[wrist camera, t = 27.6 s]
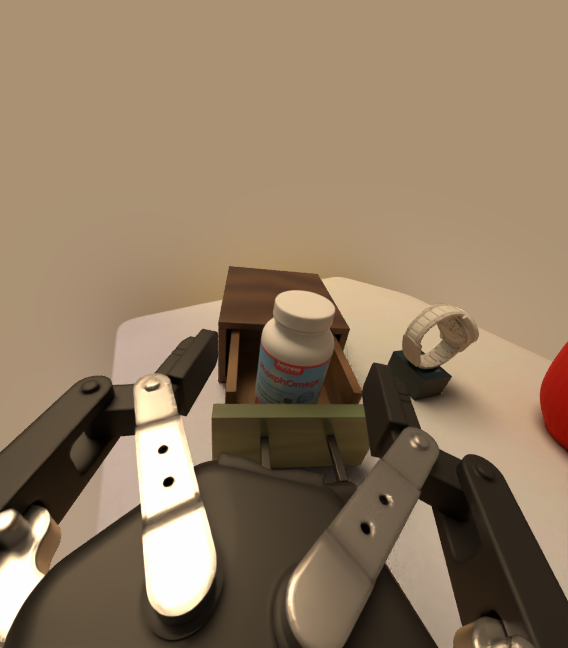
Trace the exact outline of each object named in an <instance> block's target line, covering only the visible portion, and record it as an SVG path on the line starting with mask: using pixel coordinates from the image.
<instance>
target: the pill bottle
mask: <svg viewBox="0 0 568 648" xmlns="http://www.w3.org/2000/svg"><path fill="white" fill-rule="evenodd" d="M273 315H274V318H272V319H271V320H270V321H268V323H267V324H266V325H265V327H264V329H263V331H262V336H261V345H260V353H259V362H258V370H257V379H256V387H255V398H254V402H255V404H317V402H318V399H319V395H320V392H321V389H322V386H323V383H324V380H325V376H326V373H327V370H328V367H329V363H330V360H331V357H332V354H333V350H334V337H333V335H332V333H331V331H330V330H329V329H330V327H331V325H332V323H333V318H334V315H335V307H334V305H333V303H332V302H331V301H329V300H328V299H327V298H325V297H323V296H321V295H318V294H315V293H312V292H308V291H300V290H292V291H286V292H283V293H280V294H279V295H278V296H277V297H276V299H275V304H274V309H273Z"/></svg>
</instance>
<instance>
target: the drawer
mask: <svg viewBox="0 0 568 648" xmlns="http://www.w3.org/2000/svg"><path fill="white" fill-rule="evenodd" d="M262 331H263V330H243V329H232V334H231V343H230V353H229V362H228V372H227V381H226V391H225V404H214V405H213V412H212V461H213V460H219V458H220V455H221V453H222V452H225V453H229V454H234V455H238V456H243V457H247V458H249V459H251V460H253V461H255V462H256V463H258V464H260V465H262V466H264V467H266V468H268V469H270V470H271V468H288V467H315V466H333V468H334V472H335V476H336V479H337V482H332V483H325V484H326V485H327V486H329V487H331V488H332V489H333V490H335V491H336V492H337V493H338V494H340V495H341V497H342V498H343V499H344V500H345V501H346V502H348V500H349V499H350V498H351V497H352V495H353V494H354V493H355V491H356V490H357V488H356V486H355V484H354V483H353V482H348V477H347V474H346V471H345V467H344V465H361V463H362V461H363V459H364V457H365V455H366V453H367V451H368V450H369V448H370V445H369V438H368V431H367V425H366V418H365V411H364V405H363V404H359V401H360V399H361V397H362V390H361V388H360V386H359V384H358V382H357V380H356V378H355V375H354V373H353V371H352V369H351V367H350V365H349V363H348V361H347V359H346V357H345V355H344V353H343V351H342V349H341V346H340V344H339V342H338V340H337V338H336V336H335V334H332V335H333V337H334V350H333V354H332V357H331V360H330V363H329V367H328V370H327V373H326V376H325V380H324V383H323V386H322V389H321V392H320V395H319V399H318V402H317V404H255V402H254V398H255V387H256V379H257V370H258V362H259V353H260V345H261V336H262Z"/></svg>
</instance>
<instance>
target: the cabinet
mask: <svg viewBox="0 0 568 648" xmlns="http://www.w3.org/2000/svg"><path fill="white" fill-rule="evenodd" d="M292 290H300V291H308V292H312V293H315V294H318V295H321V296H323V297H325V298H327V299H328V300H329V301H331V302H332V303H333V305H334V307H335V315H334V318H333V323H332V325H331V327H330V329H329V330H330V331H331V333H332V334H335V336H336V338H337V340H338V342H339V344H340V346H341V349H342V351H343V350H344V346H345V343H346V340H347V337H348V333H349V330H350V328H349V326H348V325H347V323H346V321H345V320H344V318H343V316H342V315H341V313H340V311H339V309H338V308H337V306H336V304H335V303H334V301H333V299H332V298H331V296H330V294H329V292H328V291H327V289H326V287H325V286H324V284H323V282H322V281H321V279H320V277H319V275H318V274H310V273H299V272H288V271H276V270H266V269H254V268H243V267H231V266H229V270H228V275H227V280H226V286H225V291H224V296H223V301H222V306H221V311H220V317H219V322H218V327H219V329H218V381H219V382H226V381H227V372H228V362H229V353H230V343H231V334H232V329H243V330H263V329H264V327H265V325H266V324H267V323H268V321H270V320H271V319H272V318H274V315H273V309H274V304H275V299H276V297H277V296H278V295H279V294H280V293H283V292H286V291H292Z"/></svg>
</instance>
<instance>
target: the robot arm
mask: <svg viewBox="0 0 568 648" xmlns="http://www.w3.org/2000/svg"><path fill="white" fill-rule="evenodd" d="M217 359H218V333H217V332H216V331H211V330H206V329H202V330H201V331H200V332H199V334H198V335H197V336H196V337H191V336H190V337H189V338H187V339H185V340H183V341H182V342H181V343H180V344H179V345H178V346H177V347H176V349H175V350H174V351H173V352H172V354H171V355H170V356H169V357H168V358H167V359H166V360H165V361H164V363H163V364H162V365H161V366H160V367H159V368H158V370H157V371H156V372H155V373H154V374H149V375H146V376H144V377H142V378H140V379H139V380H138V381H137V382H136V383H135V384H127V385H112V382H111V380H110V379H109V378H108V377H105V376H91V377H87V378H84V379H82V380H80V381H78V382H77V383H75V384H74V385H73V386H72V387H71V388H70V389H69V390H68V391H66V392H65V393H64V394H63V395H62V396H61V397H60V398H59V399H58V400H57V401H56V402H55V403H53V404H52V405H51V406H50V407H49V408H48V409H47V410H46V411H45V412H44V413H42V415H40V416H39V417H38V418H37V419H36V420H35V421H34V422H33V423H32V424H31V425H29V426H28V427H27V428H26V429H25V430H24V431H23V432H22V433H21V434H20V435H19V436H17V437H16V438H15V439H14V440H13V441H12V442H11V443H10V444H9V445H8V446H7V447H6V448H5V449H3V450H2V451H1V452H0V647H2V648H438V646H437V645H436V643H435V642H434V640H433V638H432V637H431V635H430V634H429V632H428V630H427V629H426V627H425V626H424V624H423V622H422V621H421V619H420V618H419V616H418V614H417V613H416V611H415V610H414V608H413V606H412V605H411V603H410V601H409V600H408V598H407V597H406V595H405V593H404V592H403V590H402V589H401V587H400V585H399V584H398V582H397V581H396V579H395V577H394V576H393V574H392V573H391V571H390V569H389V568H388V566H387V565H386V563H385V562H386V560H387V558H388V556H389V554H390V552H391V550H392V548H393V546H394V544H395V542H396V541H397V539H398V537H399V535H400V533H401V531H402V529H403V527H404V525H405V523H406V521H407V519H408V518H409V516H410V514H411V512H412V510H413V508H414V506H415V504H416V502H417V500H418V499H420V500H421V501H423V502H425V503H427V504H428V505H430V506H432V510H433V514H434V517H435V521H436V525H437V529H438V533H439V537H440V541H441V545H442V549H443V553H444V557H445V561H446V565H447V568H448V572H449V576H450V580H451V584H452V588H453V592H454V596H455V600H456V604H457V608H458V612H459V616H460V619H461V623H462V627H461V628H459V629H458V630H457V632H456V633H455V636H454V641H453V648H568V600H567V598H566V596H565V594H564V593H563V591H562V589H561V587H560V585H559V583H558V581H557V579H556V577H555V575H554V573H553V571H552V569H551V567H550V565H549V564H548V562H547V560H546V558H545V556H544V554H543V552H542V550H541V548H540V546H539V544H538V542H537V540H536V538H535V536H534V535H533V533H532V531H531V529H530V527H529V525H528V523H527V521H526V519H525V517H524V515H523V513H522V511H521V509H520V507H519V505H518V504H517V502H516V500H515V498H514V496H513V494H512V492H511V490H510V488H509V486H508V484H507V482H506V480H505V478H504V477H503V475H502V474H501V472H500V471H499V470H498V469H497V468H496V467H495V466H494V465H493V464H492V463H491V462H489V461H488V460H486V459H484V458H482V457H480V456H478V455H473V454H468V455H466V456H465V457H464V458H463V459H462V460H461V459H458V458H456V457H454V456H452V455H450V454H448V453H446V452H444V451H442V450H440V449H439V448H438V445H437V443H436V442H435V440H434V439H433V438H432V437H431V436H430V435H429V434H428V433H426V432H425V431H423V430H421V427H420V425H419V422H418V419H417V416H416V413H415V411H414V408H413V405H412V404H411V400H410V397H409V394H408V391H407V388H406V386H405V385H404V384H403V382H402V381H401V380H400V379H399V378H397V377H393V374H392V371H391V368H390V366H389V365H384V364H378V363H373V364H372V366H371V368H370V371H369V373H368V376H367V378H366V381H365V383H364V386H363V391H362V398H363V405H364V411H365V418H366V425H367V431H368V438H369V445H370V451H371V456H373V457H378V458H380V460H379V461H378V462H377V464H376V465H375V466H374V467H373V469H372V470H371V471H370V473H369V474H368V475H367V477H366V478H365V479H364V481H363V482H362V483H361V485H360V486H359V487H358V489H357V490H356V491H355V493H354V494H353V495H352V497H351V498H350V499H349V500H348V502H346V501H345V500H344V499H343V498H342V497H341V495H340V494H338V493H337V492H336V491H335V490H333V489H332V488H331V487H329V486H327V485H326V484H325V475H323V474H318V473H314V472H309V471H305V470H300V469H292V470H270V469H268V468H266V467H264V466H262V465H260V464H258V463H256V462H255V461H253V460H251V459H249V458H247V457H243V456H238V455H234V454H229V453H225V452H222V453H221V455H220V458H219V460H213V461H208V462H204V463H201V464H199V465H196V466H194V467H193V464H192V460H191V456H190V452H189V448H188V444H187V440H186V436H185V432H184V428H183V424H182V420H181V417H180V415H182V416H187V414H188V413H189V411H190V409H191V408H192V406H193V404H194V402H195V401H196V399H197V397H198V395H199V394H200V392H201V390H202V388H203V387H204V385H205V383H206V382H207V380H208V378H209V376H210V375H211V373H212V371H213V369H214V368H215V366H216V363H217ZM130 435H135V439H136V451H137V463H138V474H139V486H140V498H141V504H139V505H138V506H136V507H135V508H134V509H132V510H131V511H129V512H128V513H127V514H125V515H124V516H122V517H121V518H119V519H118V520H117V521H115V522H114V523H112V524H111V525H110V526H108V527H107V528H105V529H104V530H103V531H101V532H100V533H98V534H97V535H96V536H94V537H93V538H91V539H90V540H89V541H87V542H86V543H84V544H83V545H82V546H80V547H79V548H77V549H76V550H74V551H73V552H72V553H70V554H69V555H67V556H66V557H65V558H63V559H62V560H61V561H60V562H58V563H57V564H56V565H55V566H54V567H53V568H52V569H51V570H50V571H49V567H50V562H51V560H52V558H53V556H54V554H55V552H56V550H57V548H58V546H59V543H60V539H61V530H60V527H59V526H58V525H59V523H60V522H61V520H62V519H63V518H64V516H65V515H66V513H67V512H68V510H69V509H70V508H71V506H72V505H73V503H74V502H75V500H76V499H77V498H78V496H79V495H80V493H81V492H82V490H83V489H84V488H85V486H86V485H87V483H88V482H89V481H90V479H91V478H92V476H93V475H94V473H95V472H96V471H97V469H98V468H99V466H100V465H101V464H102V462H103V461H104V459H105V458H106V456H107V455H108V454H109V452H110V451H111V449H112V448H113V447H114V445H115V444H116V442H117V441H118V439H119V438H120V437H121V436H130Z"/></svg>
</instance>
